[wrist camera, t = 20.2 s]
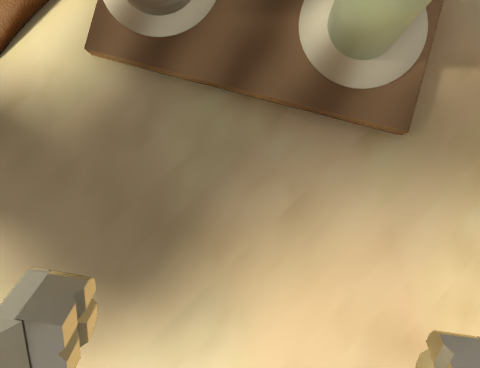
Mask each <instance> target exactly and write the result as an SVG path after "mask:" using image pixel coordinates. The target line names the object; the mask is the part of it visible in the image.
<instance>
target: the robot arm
mask: <svg viewBox="0 0 480 368" xmlns="http://www.w3.org/2000/svg"><path fill="white" fill-rule="evenodd" d="M95 291H96V282H95V279H94V278H92V277H87V276H82V275H76V274H71V273H65V272H60V271H54V270H53V271H52V270H46V269H41V268H35V267H32V268H30V269H29V270H27V271H26V272H25V274H24V275H23V276H22V277H21V279H20V280H19V281H18V283H17V284H16V285H15V286H14V288H13V289H12V290H11V292H10V293H9V294H8V295H7V297H6V298H5V299H4V301H3V302H2V303H1V304H0V368H76V366H77V364H78V362H79V360H80V358H81V355H80V347H81V346H83V345H84V344H86V343H88V342H89V339H90V337H91V335H92V333H93V330H94V327H95V323H96V319H97V303H96V301H95V300H94V299H93V298H92V297H93V295H94V293H95ZM426 343H427V346H428V350H426V351H424V352H422V353H421V354H420V355H419V358H418V360H417V362H416V368H480V337H478V336H477V337H475V336H470V335H463V334H456V333H450V332H443V331H436V330H434V331H432V332H431V333H430V334H429V336H428V338H427V340H426Z"/></svg>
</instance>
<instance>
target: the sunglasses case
mask: <svg viewBox="0 0 480 368" xmlns="http://www.w3.org/2000/svg"><path fill="white" fill-rule="evenodd" d="M48 1H49V0H0V55H1V53H2V52H3V50H4V49H5V48H6V47H7V45H8V44H9V42H10V41H11V40H12V39H13V38H14V36H15V35H16V34H17V33H18V32H19V31H20V30H21V29H22V28H23V27H24V25H25V24H26V23H27V22H28V21H29V20H30V19H31V18H32V17H33V16H34V15H35V14H36V12H38V11H39V10H40V9H41V8H42V7H43V6H44V5H45V4H46V3H47V2H48Z"/></svg>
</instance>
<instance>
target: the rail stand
mask: <svg viewBox="0 0 480 368" xmlns="http://www.w3.org/2000/svg"><path fill="white" fill-rule="evenodd" d="M333 3H334V0H98V1H97V4H96V8H95V12H94V15H93V19H92V22H91V26H90V30H89V33H88V37H87V41H86V44H85V48H84V49H86V50H87V51H88V52H89V53H90V54H91V55H94V56H98V57H102V58H106V59H110V60H113V61H117V62H121V63H125V64H129V65H133V66H137V67H140V68H144V69H148V70H152V71H156V72H160V73H164V74H167V75H171V76H175V77H179V78H183V79H187V80H191V81H195V82H198V83H202V84H206V85H210V86H214V87H218V88H222V89H225V90H229V91H233V92H237V93H241V94H245V95H249V96H252V97H256V98H260V99H264V100H268V101H272V102H276V103H280V104H283V105H287V106H291V107H295V108H299V109H303V110H307V111H310V112H314V113H318V114H322V115H326V116H330V117H334V118H337V119H341V120H345V121H349V122H353V123H357V124H361V125H365V126H368V127H372V128H376V129H380V130H384V131H388V132H392V133H395V134H399V135H403V134H405V133H408V132H409V128H410V124H411V120H412V116H413V113H414V109H415V105H416V101H417V98H418V94H419V90H420V86H421V83H422V79H423V75H424V71H425V67H426V64H427V60H428V56H429V52H430V49H431V45H432V41H433V37H434V33H435V30H436V26H437V22H438V18H439V15H440V11H441V7H442V3H443V0H432V1H431V2H430V3H429V4H428V5H427V6H426V8H425V9H424V10H423V11H422V12H421V13H420V14H419V15H418V17H417V18H416V19H415V20H414V21H413V22H412V23H411V25H410V26H409V27H408V28H407V29H406V30H405V31H404V33H403V34H402V35H401V36H400V37H399V38H398V39H397V41H396V42H395V43H394V44H393V45H392V46H391V47H390V49H389V50H387V51H386V52H385V53H384V54H382V55H381V56H379V57H376V58H373V59H369V60H357V59H352V58H349V57H347V56H345V55H344V54H342V53H341V52H340V51H338V50H337V49H336V47H335V46H334V45H333V43H332V42H331V40H330V37H329V34H328V28H327V22H328V16H329V13H330V11H331V8H332V5H333Z"/></svg>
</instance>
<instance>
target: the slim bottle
mask: <svg viewBox="0 0 480 368" xmlns="http://www.w3.org/2000/svg"><path fill="white" fill-rule="evenodd" d="M431 1H432V0H334V3H333V5H332V8H331V11H330V13H329V16H328V22H327V28H328V34H329V37H330V40H331V42H332V43H333V45H334V46H335V47H336V49H337V50H338V51H340V52H341V53H342V54H344V55H345V56H347V57H349V58H352V59H357V60H369V59H373V58H376V57H379V56H381V55H382V54H384V53H385V52H386V51H387V50H389V49H390V47H391V46H392V45H393V44H394V43H395V42H396V41H397V39H398V38H399V37H400V36H401V35H402V34H403V33H404V31H405V30H406V29H407V28H408V27H409V26H410V25H411V23H412V22H413V21H414V20H415V19H416V18H417V17H418V15H419V14H420V13H421V12H422V11H423V10H424V9H425V8H426V6H427V5H428V4H429V3H430V2H431Z"/></svg>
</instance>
